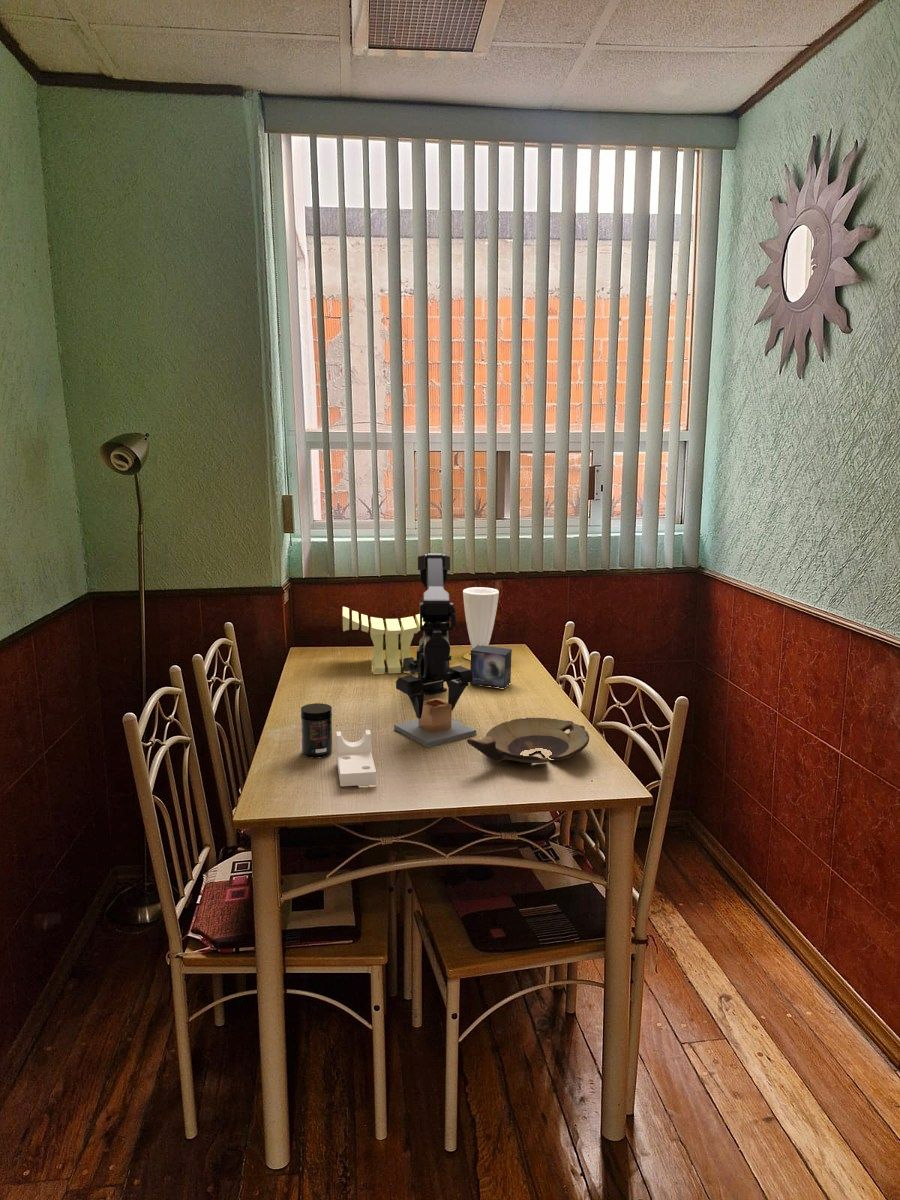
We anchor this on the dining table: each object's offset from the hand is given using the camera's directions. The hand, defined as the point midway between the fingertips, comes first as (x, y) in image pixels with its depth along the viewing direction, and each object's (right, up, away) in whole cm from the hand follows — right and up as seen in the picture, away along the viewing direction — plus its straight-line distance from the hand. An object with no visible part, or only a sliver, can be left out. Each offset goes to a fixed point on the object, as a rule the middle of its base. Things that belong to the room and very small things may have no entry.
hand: (434, 714), depth 192 cm
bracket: (-16, -10, -24) cm, 30 cm away
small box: (+15, +3, +39) cm, 42 cm away
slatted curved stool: (-14, +7, +56) cm, 58 cm away
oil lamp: (+20, -8, -12) cm, 25 cm away
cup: (+13, +9, +68) cm, 70 cm away
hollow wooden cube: (0, -3, +1) cm, 3 cm away
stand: (0, -4, +1) cm, 4 cm away
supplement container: (-26, -7, -13) cm, 30 cm away
